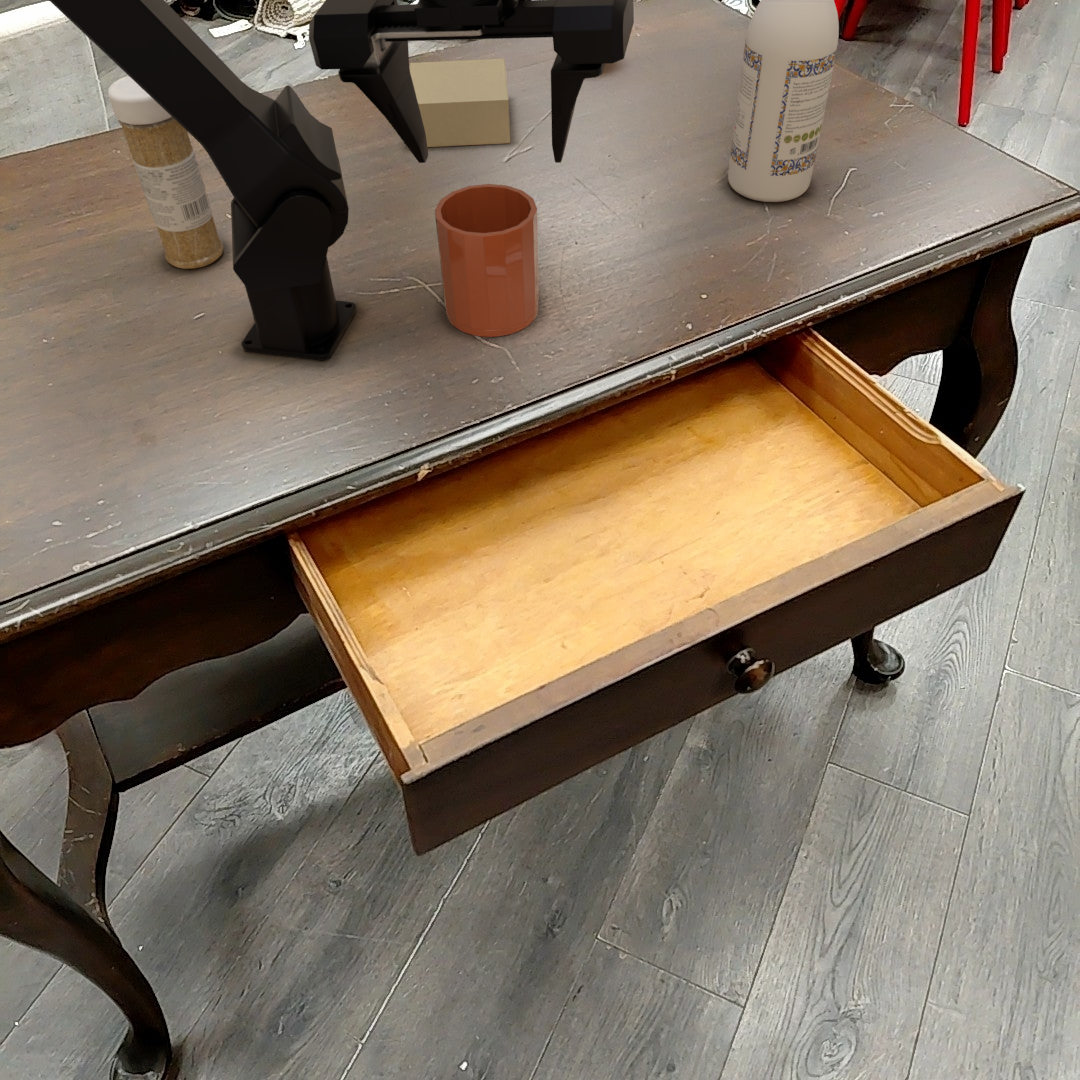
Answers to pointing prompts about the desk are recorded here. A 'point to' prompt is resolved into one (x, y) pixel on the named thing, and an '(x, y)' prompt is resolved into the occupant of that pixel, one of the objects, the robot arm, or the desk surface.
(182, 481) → the desk surface
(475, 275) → the cup
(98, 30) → the robot arm
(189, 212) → the sprinkles bottle
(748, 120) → the bath foam
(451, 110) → the stand
